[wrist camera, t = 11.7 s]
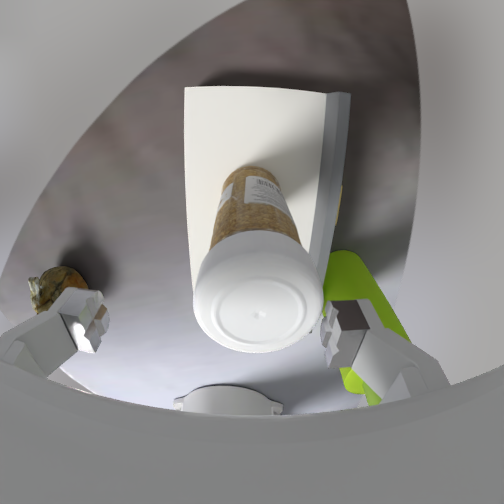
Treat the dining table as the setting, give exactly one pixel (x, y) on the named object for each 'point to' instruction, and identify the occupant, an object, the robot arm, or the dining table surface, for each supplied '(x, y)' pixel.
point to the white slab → (266, 157)
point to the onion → (53, 286)
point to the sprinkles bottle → (256, 270)
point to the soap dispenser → (350, 288)
